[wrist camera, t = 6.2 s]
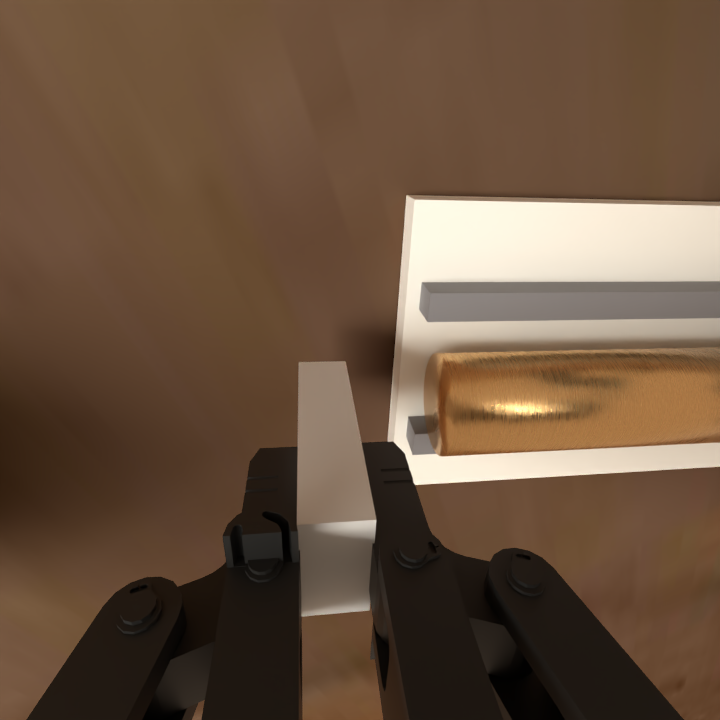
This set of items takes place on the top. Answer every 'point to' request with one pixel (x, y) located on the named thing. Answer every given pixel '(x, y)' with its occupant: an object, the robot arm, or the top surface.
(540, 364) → the tube
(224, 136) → the top surface
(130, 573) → the top surface
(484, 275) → the white grey flat rack
